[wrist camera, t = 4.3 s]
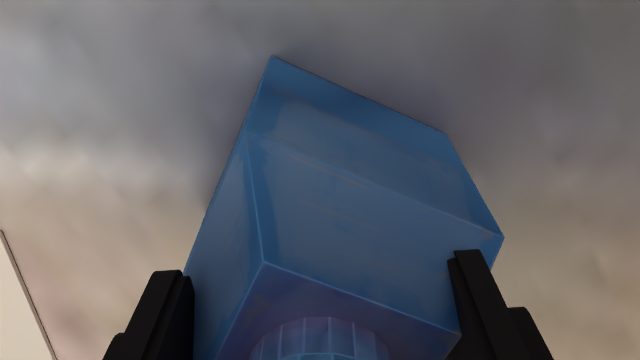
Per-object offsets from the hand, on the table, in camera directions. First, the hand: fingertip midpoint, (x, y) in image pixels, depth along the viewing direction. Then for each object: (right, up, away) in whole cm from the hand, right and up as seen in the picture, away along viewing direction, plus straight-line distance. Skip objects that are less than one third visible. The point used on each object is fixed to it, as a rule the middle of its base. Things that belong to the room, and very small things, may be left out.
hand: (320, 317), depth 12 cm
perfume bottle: (0, +3, +6) cm, 7 cm away
